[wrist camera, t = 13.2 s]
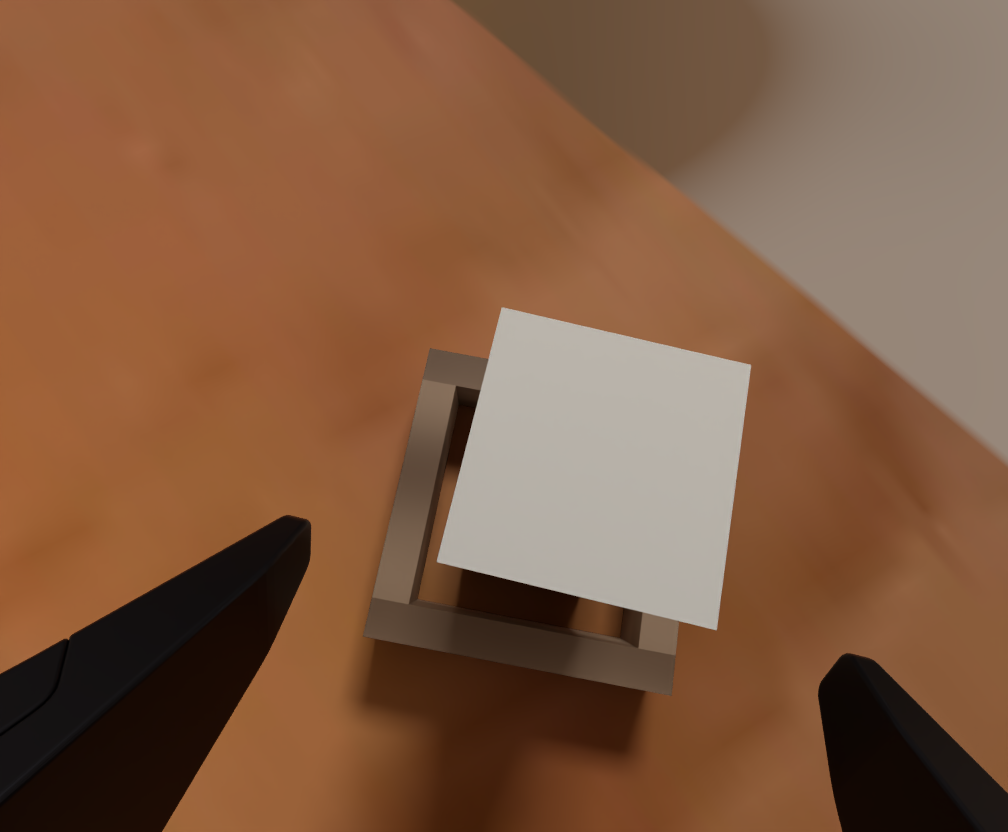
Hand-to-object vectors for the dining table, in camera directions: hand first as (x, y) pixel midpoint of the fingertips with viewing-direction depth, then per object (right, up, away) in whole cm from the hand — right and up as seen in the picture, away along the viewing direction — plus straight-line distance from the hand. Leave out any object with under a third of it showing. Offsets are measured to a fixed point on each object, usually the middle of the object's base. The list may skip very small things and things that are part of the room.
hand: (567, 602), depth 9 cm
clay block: (0, -1, +12) cm, 12 cm away
